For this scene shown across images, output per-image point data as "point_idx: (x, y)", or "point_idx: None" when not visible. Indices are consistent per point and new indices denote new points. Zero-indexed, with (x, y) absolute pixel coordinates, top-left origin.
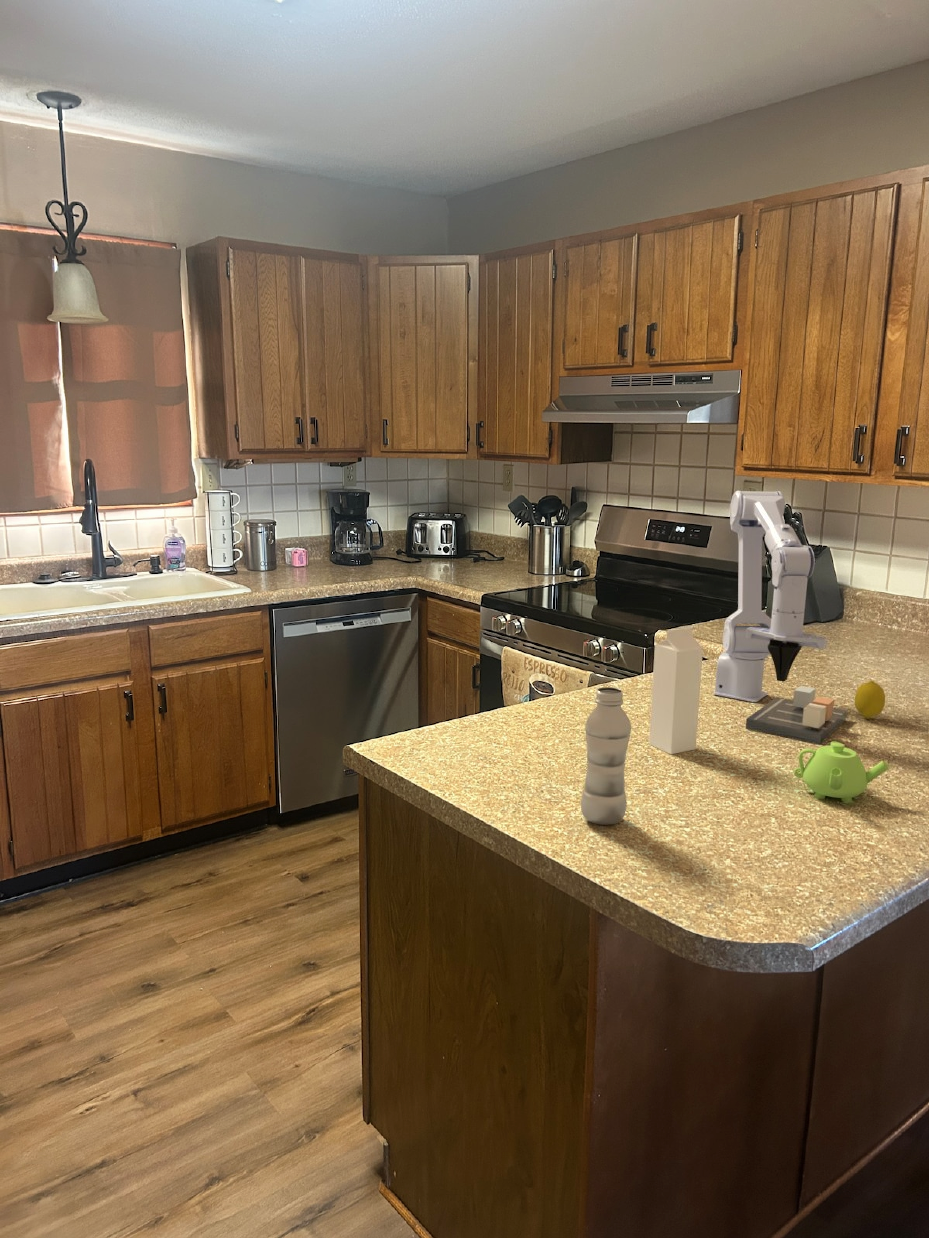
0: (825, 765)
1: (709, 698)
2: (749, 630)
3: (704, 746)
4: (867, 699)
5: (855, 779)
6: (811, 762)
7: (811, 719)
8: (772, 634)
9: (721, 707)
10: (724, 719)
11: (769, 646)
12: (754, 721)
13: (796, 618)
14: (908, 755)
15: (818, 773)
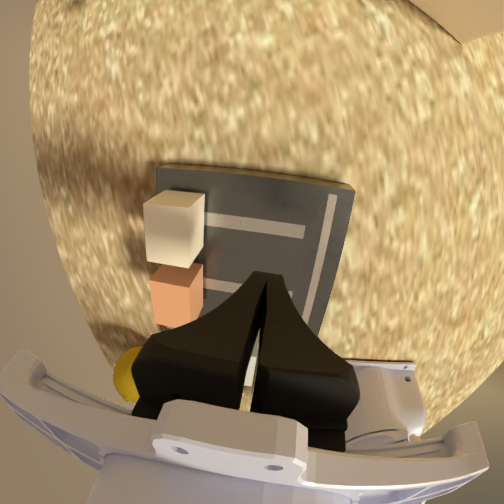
0: None
1: (423, 344)
2: (477, 464)
3: (398, 18)
4: (131, 362)
5: None
6: None
7: (175, 196)
8: (333, 485)
9: (407, 308)
10: (402, 232)
11: (346, 379)
12: (332, 186)
13: None
14: (53, 201)
15: None
